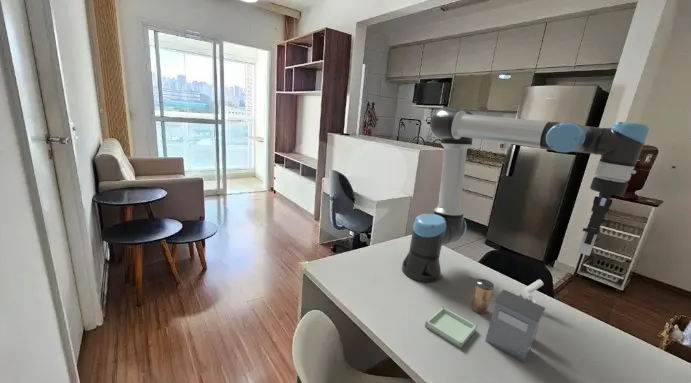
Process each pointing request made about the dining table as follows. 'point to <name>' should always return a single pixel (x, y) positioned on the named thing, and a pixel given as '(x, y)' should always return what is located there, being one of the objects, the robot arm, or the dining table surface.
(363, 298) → the dining table surface
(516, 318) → the box
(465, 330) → the tray
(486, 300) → the amber cylinder
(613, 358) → the dining table surface
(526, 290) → the hook
